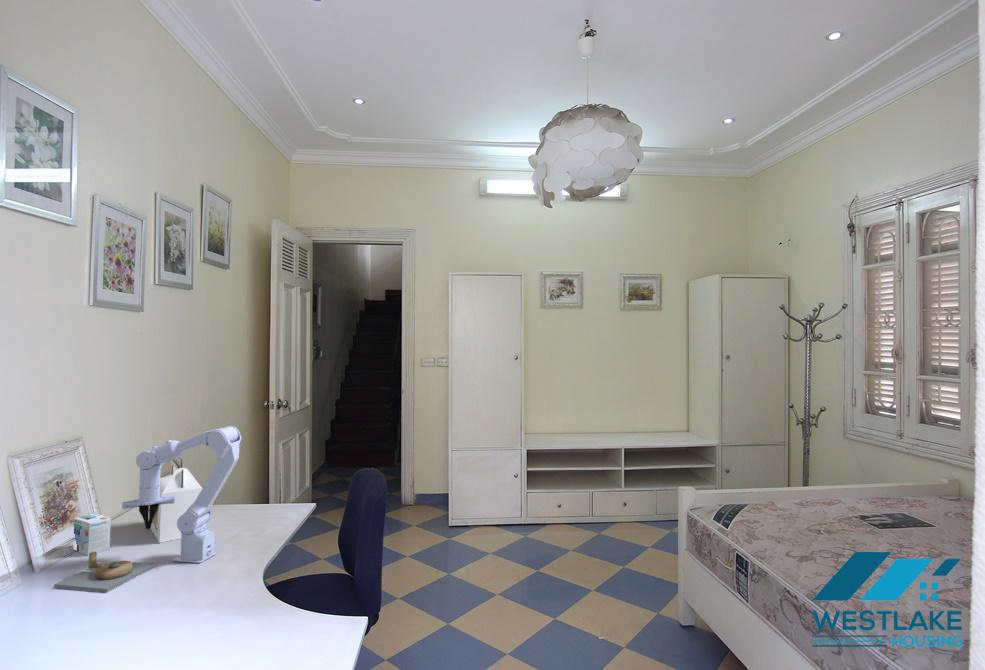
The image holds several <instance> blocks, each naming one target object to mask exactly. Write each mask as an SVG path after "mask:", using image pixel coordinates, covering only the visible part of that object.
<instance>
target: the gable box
mask: <svg viewBox="0 0 985 670" xmlns="http://www.w3.org/2000/svg"><path fill="white" fill-rule="evenodd" d="M202 488H203V487H202V486H201V484H200V483H199V482H198V481H197V480H196V478H195V476H194V475H193V474H192V473H191V471H190V470H189V469H188V468H186V467H183V459H182V458H181V457H177V458H175V459H172V460H170V461H167V462H165V463H164V464H163V466H161V469H160V497H174V496H175V504H171V503H170V504H161V505H159V507H158V509H157V511H156V513H155V515H154V518H153V520H152V524H151V529H150V531H151V530H152V531H151V532H152V534H153V533H154V534H153V535H155V536H154V537H155V539H156V538H157V539H156V540H158V541H157V542H158V544H161V543H160V542H164V543H166V542H165V541H169V542H171V541H170V540H174V541H177V540H176V539H179V540H181V539H180V538H181V531H180V530H179V529H178V527H177V521H178V519H179V517H180V516H181V515H183V514H184V513H185V512H186V511H187V509H188V508H189V507H190V506H191V505H192V504H193V503H194V502H195V500H196V499H197V497H198V495H199V494H200V492H201V490H202Z"/></svg>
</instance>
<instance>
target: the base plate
mask: <svg viewBox="0 0 985 670" xmlns="http://www.w3.org/2000/svg"><path fill="white" fill-rule="evenodd" d="M116 561H117V560H104V561H102V562H100V563H98V564H107V563H111V562H116ZM154 568H155V564H153V563H143V562H141V563H140V562H132V571H131V572H130V573H128V574H126V575H124V576H121V577H118V578H114V579H106V580H101V579H97V578H95V570H96V568H89V567H88V568H87V569H84V570H82V571H79V572H78V573H76V574H73V575H72V576H69V577H67V578H65V579H63V580H60V581H58V582H55V583H54V585H53V588H54V587H57V588H56V589H62V588H67V589H66V590H73V589H76V590H77V591H84V590H87V592H95V591H98V593H106V592H107V593H109V592H111V591H113V590H115V589H116V588H118V587H120V586H122V585H124V584H126V583H128V582H130V581H131V580H130V579H132V578H133V579H135V578H137V577H138V575H139V576H141V575H143V574H145V573H147V572H149V571H150V570H152V569H154ZM148 570H149V571H148ZM146 571H147V572H146ZM144 572H145V573H144ZM142 573H143V574H142ZM140 574H141V575H140ZM136 576H137V577H136ZM134 577H135V578H134ZM133 579H132V580H133ZM129 580H130V581H129ZM127 581H128V582H127ZM125 582H126V583H125ZM123 583H124V584H123ZM121 584H122V585H121ZM119 585H120V586H119ZM117 586H118V587H117ZM115 587H116V588H115ZM114 588H115V589H114ZM112 589H113V590H112ZM110 590H111V591H110ZM108 591H109V592H108Z"/></svg>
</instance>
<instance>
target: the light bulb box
mask: <svg viewBox="0 0 985 670" xmlns="http://www.w3.org/2000/svg"><path fill="white" fill-rule="evenodd" d="M111 521H112V518H111V517H108V516H105V515H103V514H99V513H96V512H95V513H93V512H92V513H90V514H87V515H82V516H77V517H74V518H73V524H72V525H73V526H74V534H75V540H76V544H77V551H78V552H77V551H76V552H77V553H80V554H82V555H84V556H87V557H89V553H91V552H97V554H99V553H103V552H105V551H106V550H107V551H110V550H109V549H111V548H110V547H111V545H110V544H111V527H112V525H111V523H112V522H111Z"/></svg>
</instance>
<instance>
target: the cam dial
mask: <svg viewBox="0 0 985 670" xmlns="http://www.w3.org/2000/svg"><path fill="white" fill-rule="evenodd" d="M97 554H98V553H97V552H91V553H89V556H88V568H96V570H95V578H97V579H101V580H106V579H114V578H118V577H121V576H124V575H126V574H128V573H130V572H131V571H132V563H133V562H132V561H130V560H129V561H128V560H115V561H116V562H111V563H107V564H99V563H97Z"/></svg>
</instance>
